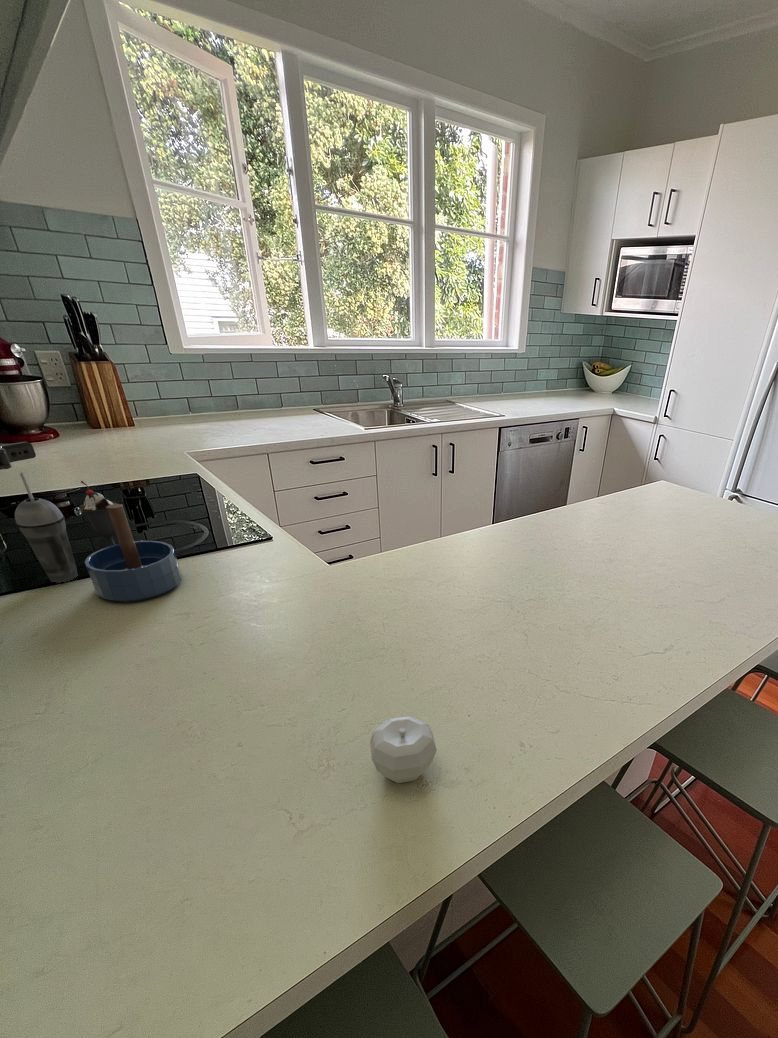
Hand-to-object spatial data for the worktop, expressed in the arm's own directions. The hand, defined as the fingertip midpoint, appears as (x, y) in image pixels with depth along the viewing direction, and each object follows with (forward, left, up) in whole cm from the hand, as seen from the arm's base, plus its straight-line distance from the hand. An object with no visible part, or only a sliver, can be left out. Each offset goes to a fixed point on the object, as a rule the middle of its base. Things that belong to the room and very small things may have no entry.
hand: (14, 445), depth 80 cm
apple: (+58, -40, -28) cm, 76 cm away
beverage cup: (-10, +14, -28) cm, 33 cm away
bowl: (+6, +10, -28) cm, 30 cm away
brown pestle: (+6, +10, -27) cm, 29 cm away
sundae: (-7, +27, -28) cm, 40 cm away
